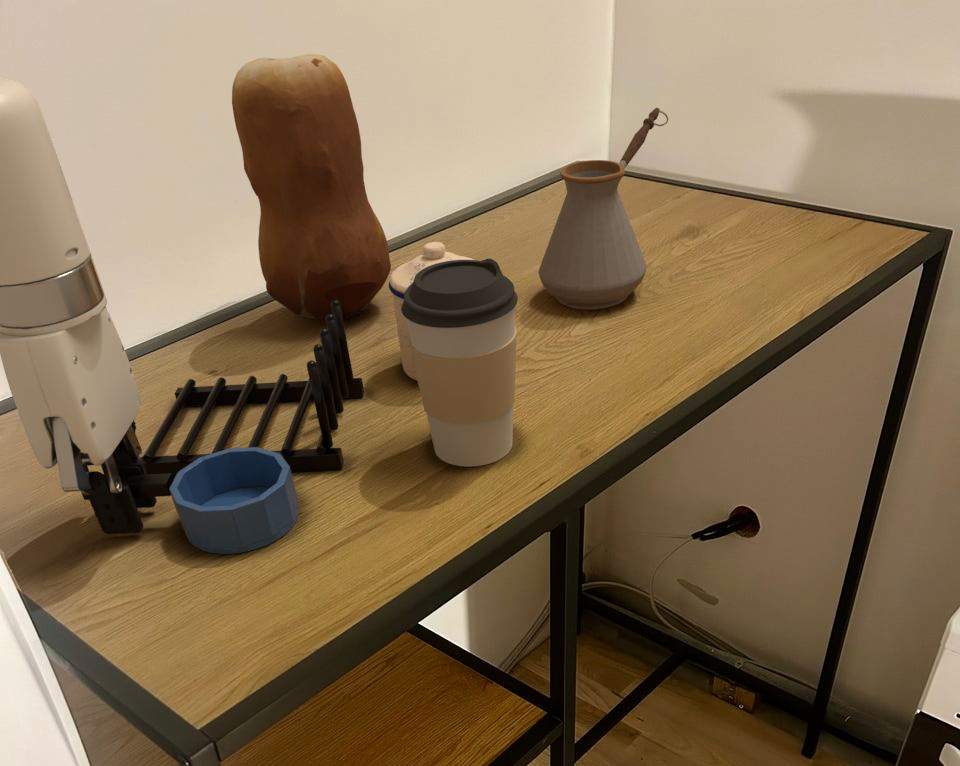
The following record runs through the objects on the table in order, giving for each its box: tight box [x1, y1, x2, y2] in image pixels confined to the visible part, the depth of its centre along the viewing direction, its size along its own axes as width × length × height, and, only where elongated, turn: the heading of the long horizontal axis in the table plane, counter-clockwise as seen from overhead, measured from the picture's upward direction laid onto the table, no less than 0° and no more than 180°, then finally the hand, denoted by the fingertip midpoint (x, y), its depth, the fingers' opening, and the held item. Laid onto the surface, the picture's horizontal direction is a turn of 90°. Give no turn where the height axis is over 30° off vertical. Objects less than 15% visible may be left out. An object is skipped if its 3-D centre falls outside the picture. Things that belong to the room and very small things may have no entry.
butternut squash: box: [231, 53, 392, 320], centre depth 97 cm, size 14×13×25 cm
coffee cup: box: [401, 258, 519, 468], centre depth 77 cm, size 9×9×15 cm
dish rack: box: [137, 300, 365, 478], centre depth 83 cm, size 18×14×9 cm
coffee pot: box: [538, 107, 669, 310], centre depth 102 cm, size 21×12×15 cm, turn 147°
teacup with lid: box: [388, 241, 519, 382], centre depth 90 cm, size 12×9×12 cm
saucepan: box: [80, 446, 299, 555], centre depth 75 cm, size 16×9×4 cm, turn 87°
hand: (130, 516), depth 76 cm, fingers closed
